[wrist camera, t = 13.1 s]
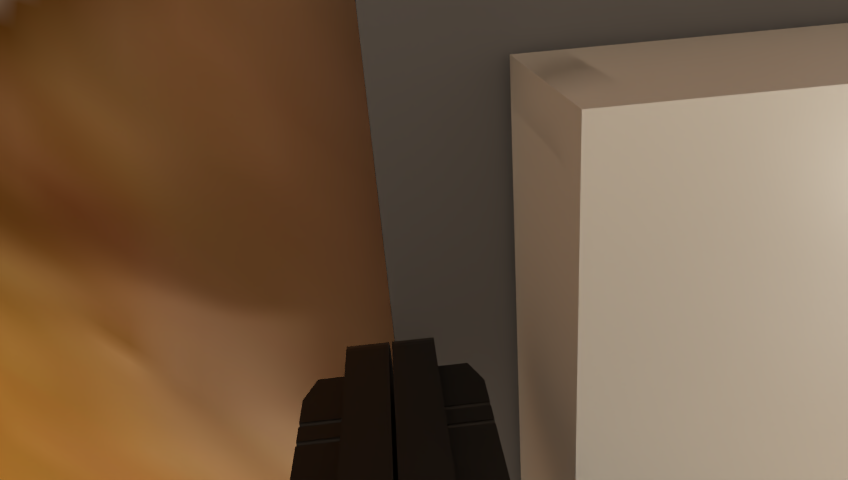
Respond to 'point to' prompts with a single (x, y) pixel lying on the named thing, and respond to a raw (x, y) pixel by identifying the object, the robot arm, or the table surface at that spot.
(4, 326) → the table surface
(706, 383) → the cover
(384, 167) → the plate
